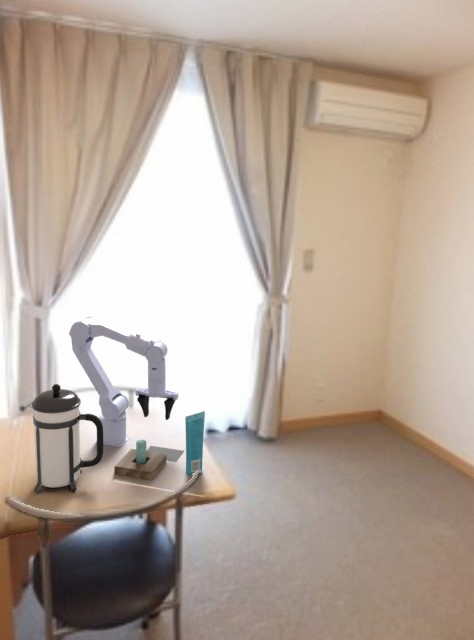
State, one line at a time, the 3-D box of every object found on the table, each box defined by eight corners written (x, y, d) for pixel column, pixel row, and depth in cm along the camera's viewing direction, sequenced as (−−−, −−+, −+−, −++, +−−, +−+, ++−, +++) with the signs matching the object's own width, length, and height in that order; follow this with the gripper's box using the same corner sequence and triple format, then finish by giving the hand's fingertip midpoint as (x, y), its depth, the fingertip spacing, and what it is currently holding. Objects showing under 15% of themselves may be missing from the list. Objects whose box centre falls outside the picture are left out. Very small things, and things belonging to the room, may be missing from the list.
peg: (134, 470, 155) (134, 443, 154) (138, 465, 158) (138, 439, 156) (143, 472, 155) (143, 444, 153) (147, 467, 157) (147, 440, 156)
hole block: (114, 475, 152) (114, 466, 151) (131, 457, 163) (131, 448, 163) (151, 481, 149) (151, 472, 149) (166, 462, 161) (166, 454, 160)
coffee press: (50, 504, 135) (47, 398, 129) (21, 482, 145) (16, 383, 139) (105, 481, 148) (104, 384, 142) (75, 462, 158) (73, 370, 152)
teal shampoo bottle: (196, 465, 160) (198, 408, 156) (207, 471, 157) (209, 412, 153) (179, 474, 154) (181, 414, 151) (190, 479, 151) (192, 419, 148)
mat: (141, 457, 164) (141, 456, 164) (150, 446, 171) (150, 445, 171) (176, 462, 161) (176, 461, 161) (184, 451, 169) (184, 450, 169)
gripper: (131, 380, 165) (131, 419, 168) (173, 384, 162) (173, 424, 164) (140, 374, 172) (140, 411, 175) (180, 378, 168) (180, 416, 171)
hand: (156, 417), depth 170 cm, fingers open, 7 cm apart
